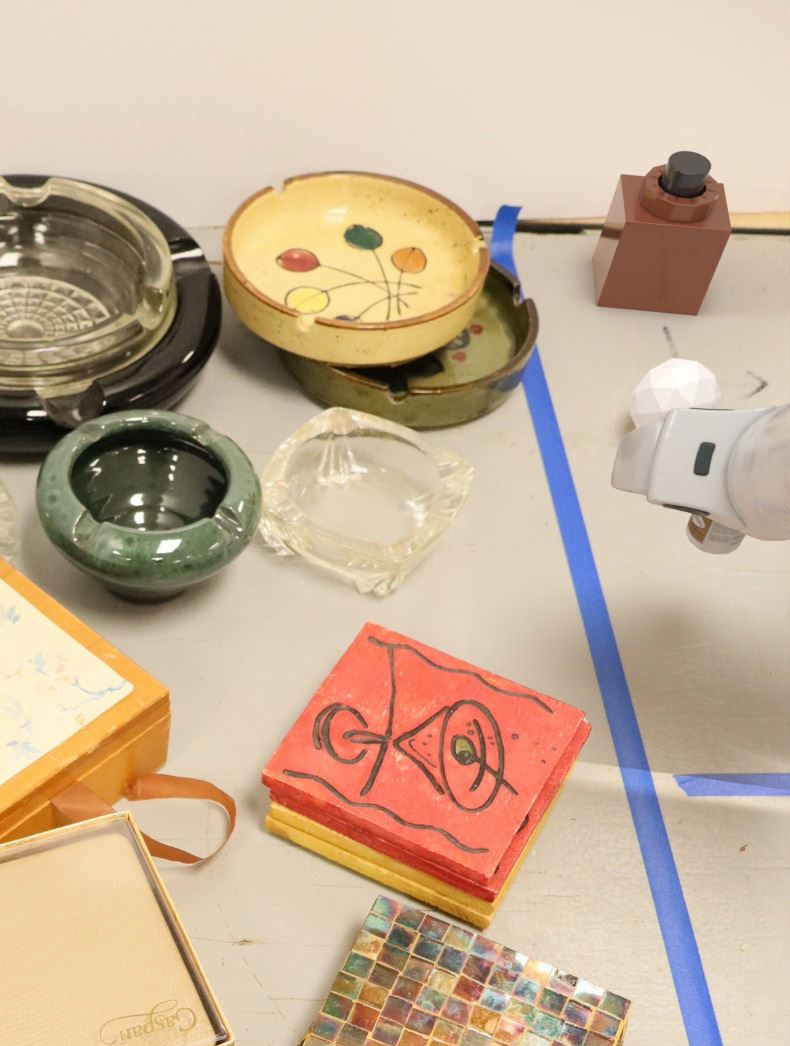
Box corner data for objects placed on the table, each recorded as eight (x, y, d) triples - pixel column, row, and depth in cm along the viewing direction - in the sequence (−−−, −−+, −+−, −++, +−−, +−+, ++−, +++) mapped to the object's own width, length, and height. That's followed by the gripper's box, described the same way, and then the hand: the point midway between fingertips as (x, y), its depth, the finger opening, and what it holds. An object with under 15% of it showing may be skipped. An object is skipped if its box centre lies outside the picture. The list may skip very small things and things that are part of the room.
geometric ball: (670, 455, 136) (748, 406, 131) (644, 473, 131) (725, 422, 125) (629, 386, 136) (706, 334, 130) (601, 401, 130) (680, 347, 125)
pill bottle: (682, 514, 115) (718, 437, 109) (738, 521, 115) (777, 443, 109) (685, 553, 113) (721, 476, 107) (742, 559, 113) (782, 483, 106)
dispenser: (689, 268, 148) (730, 165, 138) (696, 316, 143) (739, 213, 134) (592, 259, 148) (626, 155, 139) (596, 306, 144) (632, 203, 135)
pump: (699, 178, 138) (709, 152, 136) (703, 202, 136) (713, 176, 134) (657, 174, 138) (667, 148, 136) (661, 198, 136) (670, 172, 134)
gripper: (959, 449, 95) (882, 468, 109) (648, 403, 98) (610, 426, 111) (931, 545, 97) (859, 552, 110) (626, 497, 99) (591, 509, 113)
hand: (732, 488), depth 111 cm, fingers closed on pill bottle, 4 cm apart
